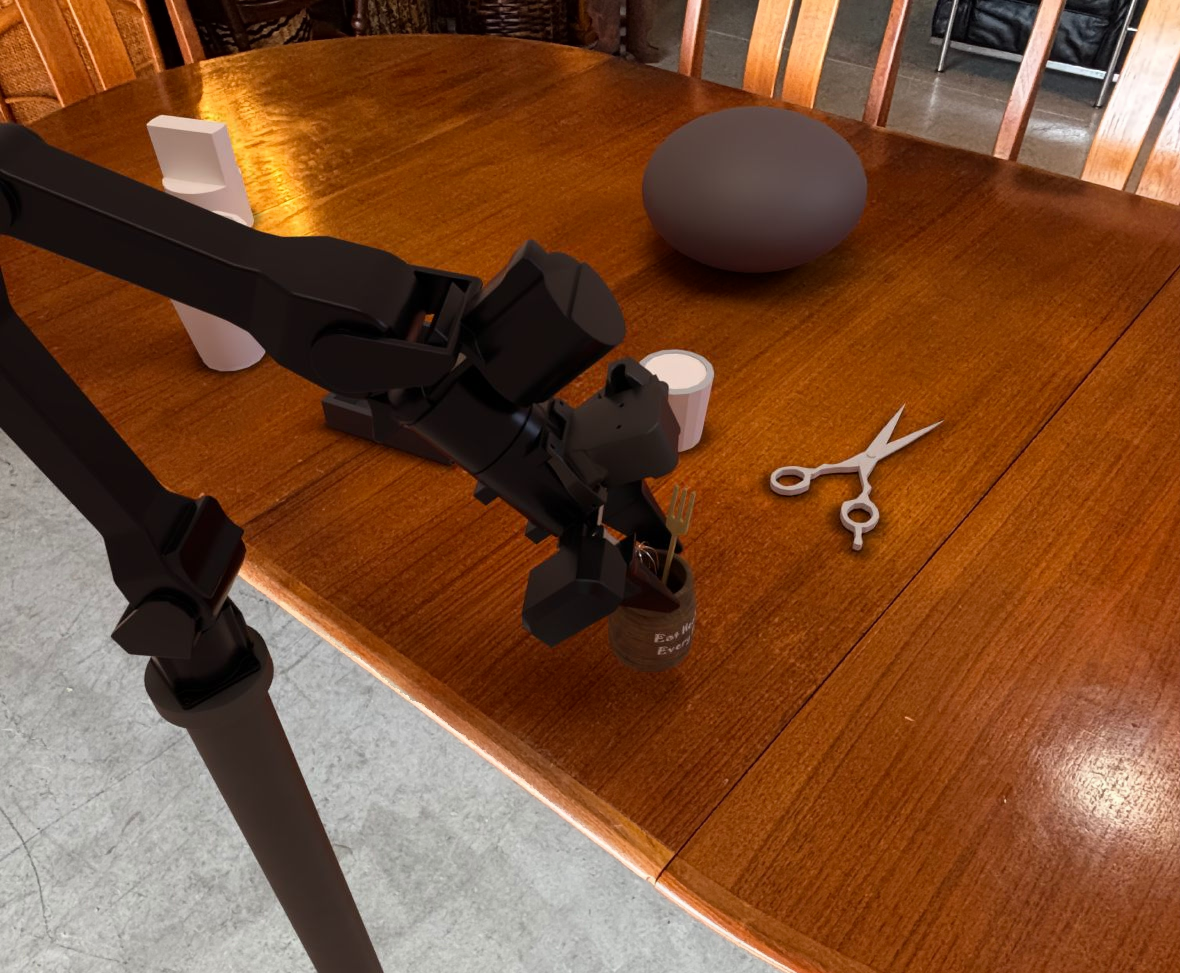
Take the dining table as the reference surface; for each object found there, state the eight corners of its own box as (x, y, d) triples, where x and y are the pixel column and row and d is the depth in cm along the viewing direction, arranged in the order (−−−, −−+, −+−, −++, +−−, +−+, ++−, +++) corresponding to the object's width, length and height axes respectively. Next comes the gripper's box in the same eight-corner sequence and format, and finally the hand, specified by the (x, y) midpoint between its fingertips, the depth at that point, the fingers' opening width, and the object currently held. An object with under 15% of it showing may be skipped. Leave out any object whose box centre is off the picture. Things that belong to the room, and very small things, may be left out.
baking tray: (450, 466, 89) (446, 439, 87) (327, 426, 93) (320, 400, 91) (531, 374, 98) (529, 349, 96) (416, 342, 102) (412, 317, 100)
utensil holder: (590, 652, 68) (591, 526, 60) (638, 597, 72) (646, 471, 63) (663, 690, 66) (675, 565, 58) (709, 631, 70) (727, 505, 61)
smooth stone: (602, 231, 118) (602, 101, 107) (774, 186, 126) (790, 61, 115) (711, 330, 103) (724, 192, 92) (899, 273, 111) (931, 139, 100)
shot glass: (669, 466, 88) (673, 403, 83) (619, 430, 92) (620, 367, 87) (723, 436, 91) (730, 372, 86) (673, 402, 95) (677, 339, 90)
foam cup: (172, 350, 102) (128, 231, 92) (254, 318, 106) (219, 201, 96) (212, 391, 97) (170, 270, 87) (296, 356, 101) (265, 237, 91)
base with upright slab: (163, 237, 118) (128, 135, 109) (204, 203, 124) (174, 104, 115) (229, 247, 116) (198, 145, 108) (267, 213, 122) (241, 113, 113)
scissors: (753, 487, 85) (877, 385, 95) (753, 494, 86) (875, 391, 96) (859, 545, 80) (978, 431, 90) (857, 552, 81) (975, 437, 91)
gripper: (578, 470, 46) (781, 640, 53) (612, 267, 59) (773, 427, 66) (432, 573, 52) (632, 713, 60) (491, 370, 65) (650, 506, 72)
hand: (676, 580), depth 64 cm, fingers closed on utensil holder, 5 cm apart
